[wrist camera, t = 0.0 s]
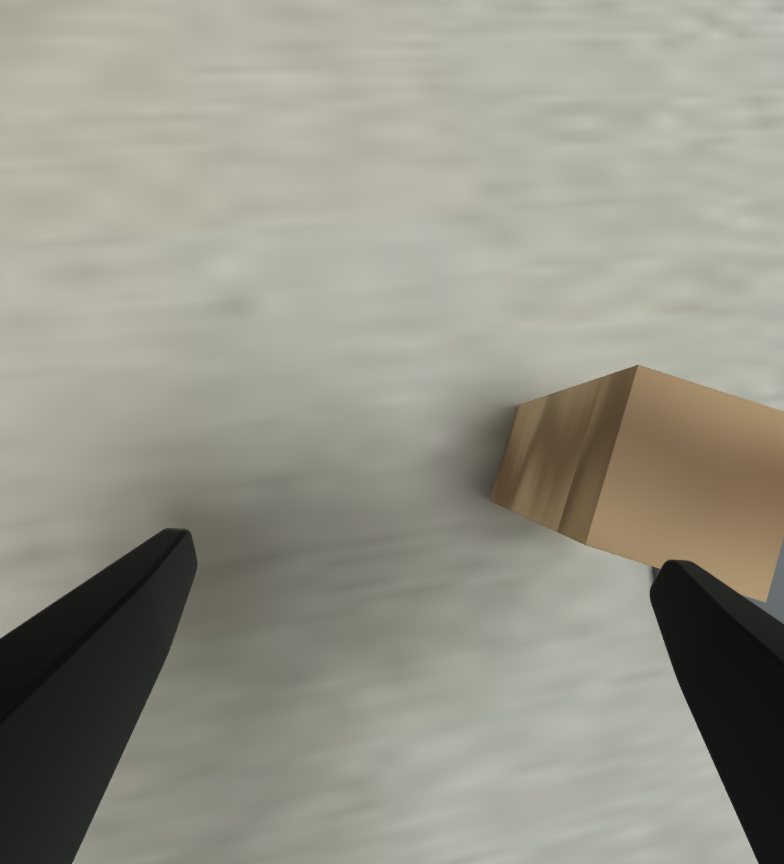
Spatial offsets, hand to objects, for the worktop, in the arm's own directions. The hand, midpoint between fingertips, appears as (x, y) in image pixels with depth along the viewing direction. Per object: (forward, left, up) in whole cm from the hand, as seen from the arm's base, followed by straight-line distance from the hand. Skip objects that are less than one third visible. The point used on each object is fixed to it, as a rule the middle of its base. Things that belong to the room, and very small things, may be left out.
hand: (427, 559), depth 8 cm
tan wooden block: (-2, -8, -15) cm, 17 cm away
